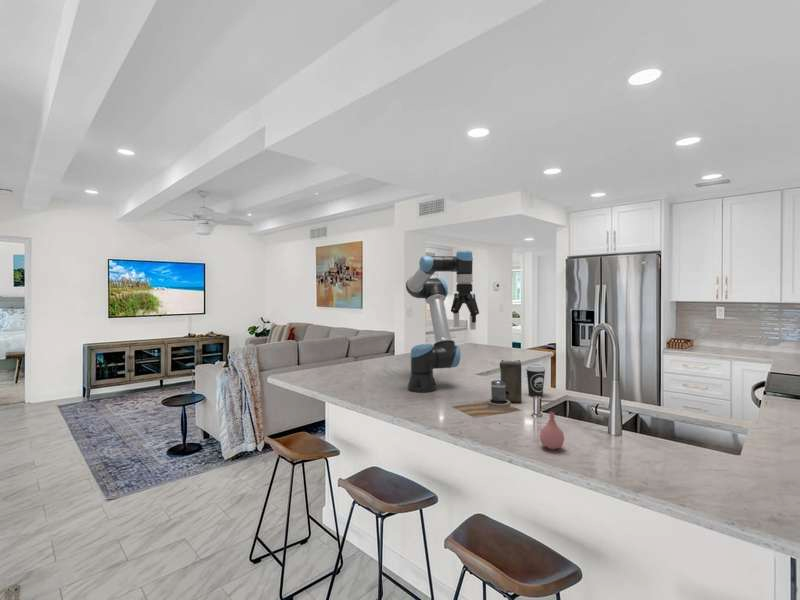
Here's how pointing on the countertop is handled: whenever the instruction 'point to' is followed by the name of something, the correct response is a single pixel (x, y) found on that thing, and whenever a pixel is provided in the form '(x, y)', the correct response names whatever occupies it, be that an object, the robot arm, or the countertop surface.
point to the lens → (498, 392)
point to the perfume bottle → (552, 434)
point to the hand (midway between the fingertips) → (464, 328)
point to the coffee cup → (535, 379)
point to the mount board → (486, 408)
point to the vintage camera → (512, 380)
